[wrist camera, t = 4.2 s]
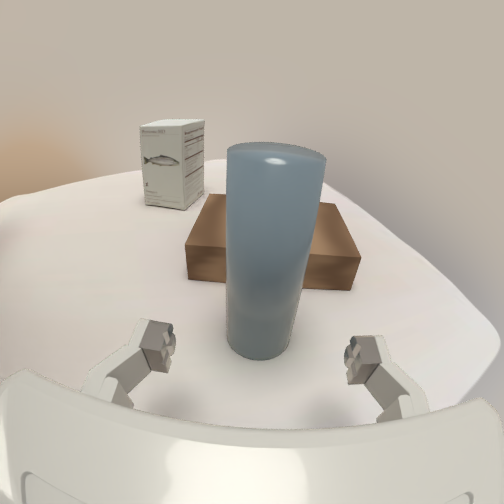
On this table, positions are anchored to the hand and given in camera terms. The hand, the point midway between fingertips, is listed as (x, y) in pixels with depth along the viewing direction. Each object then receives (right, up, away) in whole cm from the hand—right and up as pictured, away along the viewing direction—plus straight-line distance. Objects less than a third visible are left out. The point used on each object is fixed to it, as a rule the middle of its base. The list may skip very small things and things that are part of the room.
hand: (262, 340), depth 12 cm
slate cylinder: (0, -3, +9) cm, 10 cm away
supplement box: (-13, +12, +30) cm, 35 cm away
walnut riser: (+2, +4, +19) cm, 20 cm away
